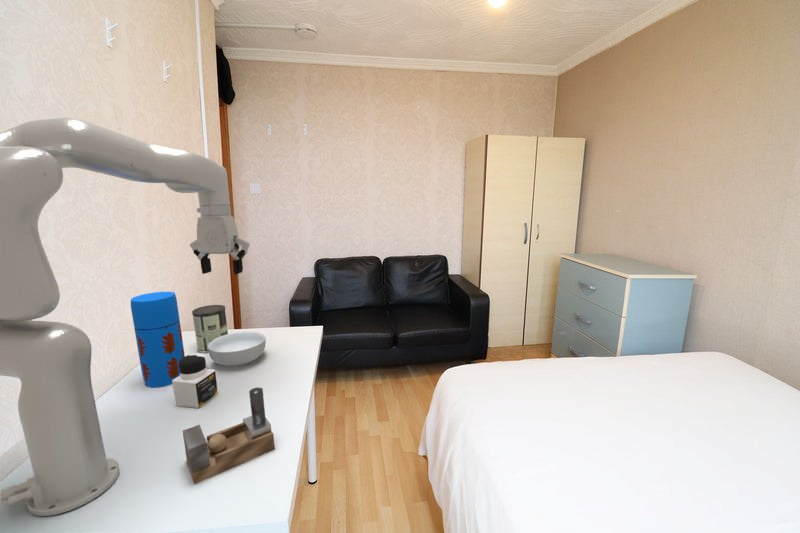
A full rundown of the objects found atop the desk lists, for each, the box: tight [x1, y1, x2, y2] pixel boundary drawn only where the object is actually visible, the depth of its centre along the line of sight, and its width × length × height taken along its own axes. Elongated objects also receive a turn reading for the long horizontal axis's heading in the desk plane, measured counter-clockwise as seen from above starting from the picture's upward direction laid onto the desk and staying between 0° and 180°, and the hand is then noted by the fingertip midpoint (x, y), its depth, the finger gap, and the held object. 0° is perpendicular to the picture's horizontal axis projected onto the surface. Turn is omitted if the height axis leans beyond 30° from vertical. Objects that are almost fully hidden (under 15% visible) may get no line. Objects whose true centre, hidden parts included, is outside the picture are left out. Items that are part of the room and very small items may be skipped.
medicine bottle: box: [171, 353, 219, 409], centre depth 94 cm, size 7×7×12 cm
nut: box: [208, 434, 227, 453], centre depth 73 cm, size 3×3×3 cm
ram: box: [242, 386, 273, 440], centre depth 77 cm, size 4×6×10 cm
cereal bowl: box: [208, 331, 266, 367], centre depth 117 cm, size 17×17×7 cm
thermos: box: [130, 291, 185, 389], centre depth 105 cm, size 11×11×25 cm
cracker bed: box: [182, 422, 276, 485], centre depth 74 cm, size 15×8×7 cm, turn 128°
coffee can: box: [191, 304, 229, 354], centre depth 128 cm, size 10×10×14 cm
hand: (222, 273), depth 103 cm, fingers open, 9 cm apart
